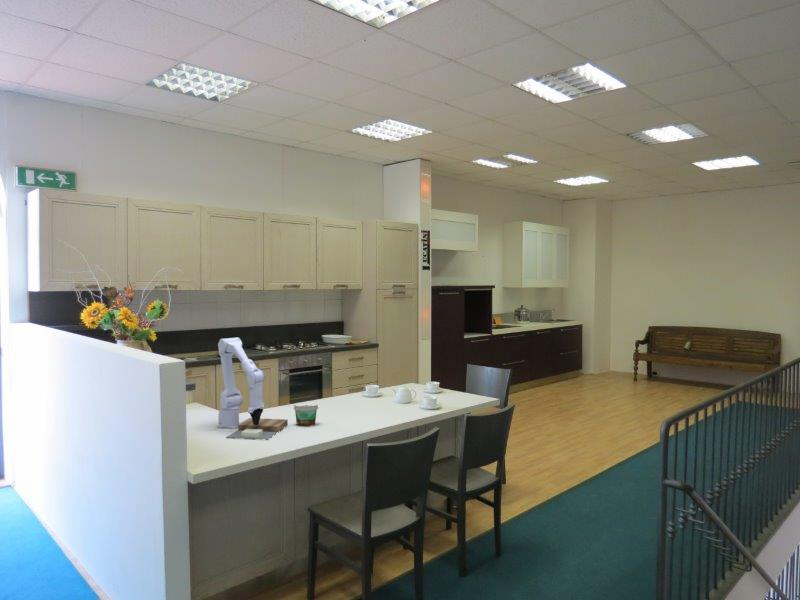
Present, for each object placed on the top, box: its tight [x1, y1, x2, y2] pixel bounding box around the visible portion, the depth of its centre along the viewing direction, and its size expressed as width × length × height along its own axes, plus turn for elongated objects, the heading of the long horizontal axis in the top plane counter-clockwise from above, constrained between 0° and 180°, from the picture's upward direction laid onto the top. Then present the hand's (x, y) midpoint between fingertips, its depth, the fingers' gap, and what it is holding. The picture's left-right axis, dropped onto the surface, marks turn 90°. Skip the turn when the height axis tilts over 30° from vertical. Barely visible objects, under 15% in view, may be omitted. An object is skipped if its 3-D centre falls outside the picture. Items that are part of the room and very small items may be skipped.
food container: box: [293, 404, 319, 427], centre depth 281 cm, size 12×6×10 cm, turn 101°
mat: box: [226, 429, 278, 441], centre depth 262 cm, size 20×12×1 cm, turn 82°
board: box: [237, 417, 288, 433], centre depth 275 cm, size 20×14×3 cm
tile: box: [241, 429, 263, 437], centre depth 261 cm, size 8×6×2 cm
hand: (256, 424), depth 266 cm, fingers closed
